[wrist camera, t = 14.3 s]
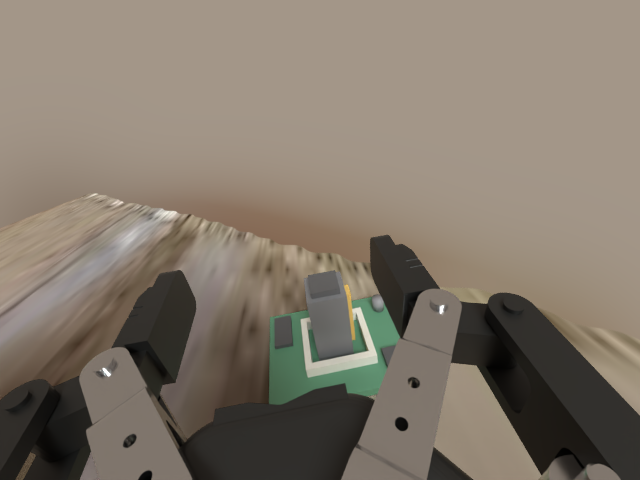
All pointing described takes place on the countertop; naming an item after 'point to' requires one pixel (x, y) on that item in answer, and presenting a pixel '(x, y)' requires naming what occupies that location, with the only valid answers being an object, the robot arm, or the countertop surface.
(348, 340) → the plug
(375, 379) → the mount board
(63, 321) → the countertop surface
